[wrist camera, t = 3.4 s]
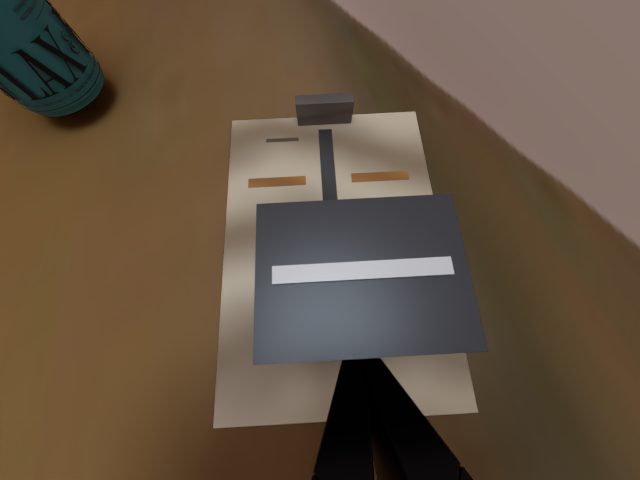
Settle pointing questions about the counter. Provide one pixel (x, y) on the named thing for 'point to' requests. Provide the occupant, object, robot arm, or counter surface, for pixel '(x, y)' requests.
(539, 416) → the counter surface
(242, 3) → the counter surface
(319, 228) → the fader cap
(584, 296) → the counter surface
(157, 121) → the counter surface
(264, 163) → the console panel
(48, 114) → the beverage bottle
